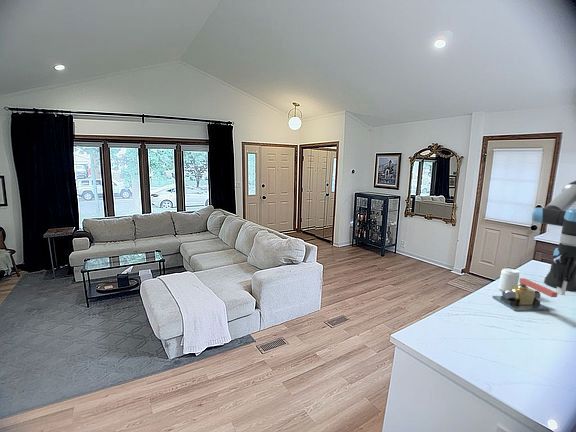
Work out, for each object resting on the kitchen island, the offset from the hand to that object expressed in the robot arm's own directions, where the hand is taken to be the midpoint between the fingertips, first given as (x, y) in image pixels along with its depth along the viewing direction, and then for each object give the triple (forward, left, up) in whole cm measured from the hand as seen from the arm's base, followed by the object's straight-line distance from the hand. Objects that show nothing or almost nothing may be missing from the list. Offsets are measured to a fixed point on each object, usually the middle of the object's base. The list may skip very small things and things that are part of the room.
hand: (560, 293), depth 137 cm
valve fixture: (+6, -13, -12) cm, 18 cm away
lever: (+6, -6, -2) cm, 8 cm away
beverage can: (-1, -29, -12) cm, 31 cm away
